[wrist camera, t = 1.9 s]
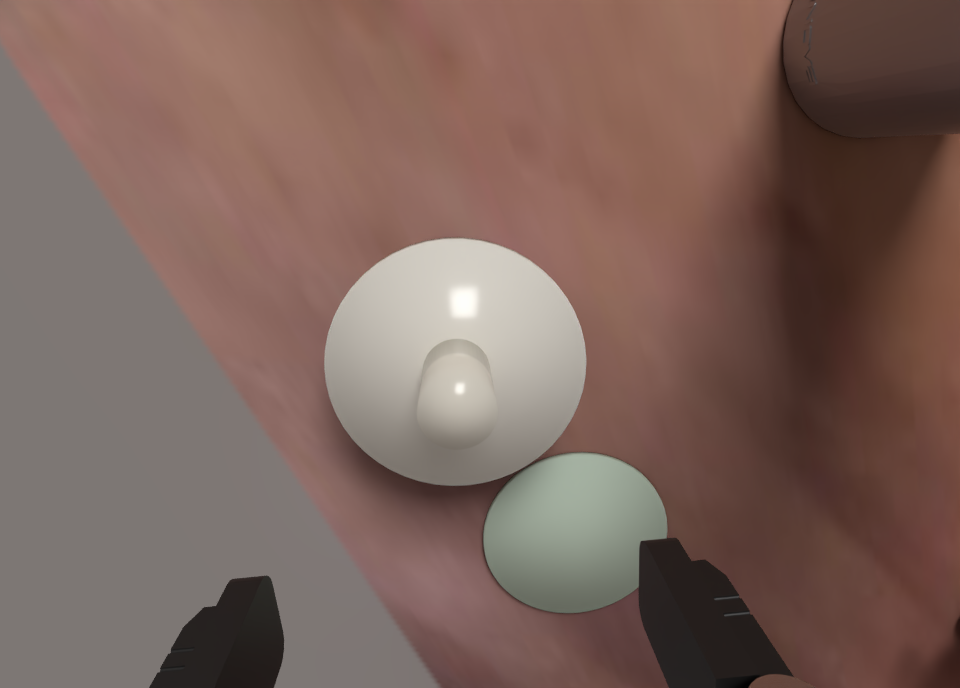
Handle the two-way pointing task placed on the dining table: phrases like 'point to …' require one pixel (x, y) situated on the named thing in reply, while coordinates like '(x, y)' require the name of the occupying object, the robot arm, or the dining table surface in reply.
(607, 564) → the disc
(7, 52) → the dining table surface
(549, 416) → the lid
